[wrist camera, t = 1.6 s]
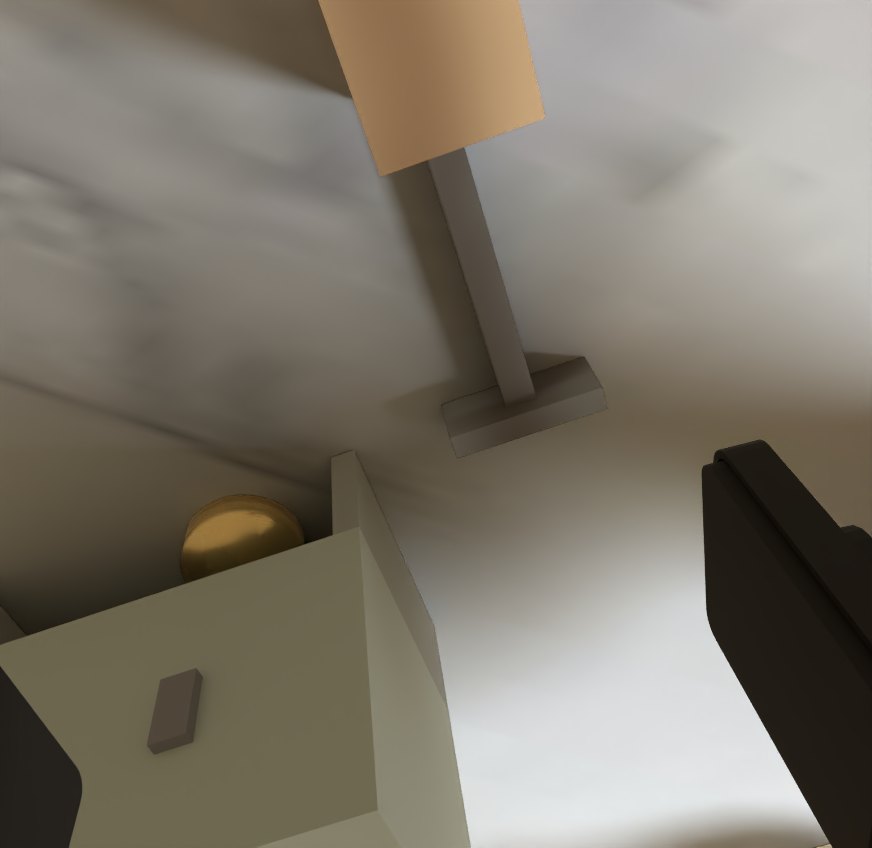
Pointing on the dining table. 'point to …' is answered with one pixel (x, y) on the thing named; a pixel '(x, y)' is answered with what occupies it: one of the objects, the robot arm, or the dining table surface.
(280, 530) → the gold metal dome
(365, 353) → the dining table surface
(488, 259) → the tan block with rod
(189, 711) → the miniature cabinet
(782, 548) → the robot arm
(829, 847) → the decorative vase
